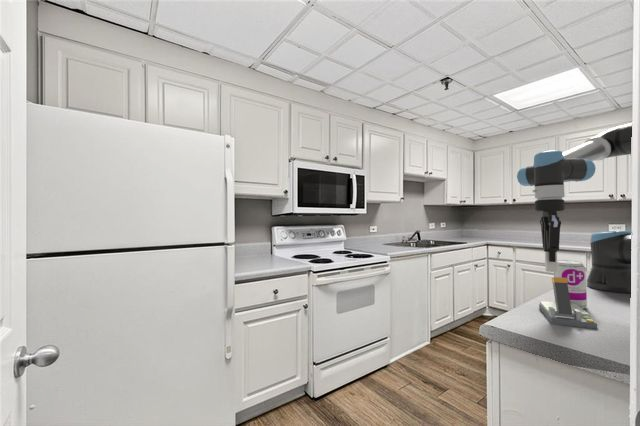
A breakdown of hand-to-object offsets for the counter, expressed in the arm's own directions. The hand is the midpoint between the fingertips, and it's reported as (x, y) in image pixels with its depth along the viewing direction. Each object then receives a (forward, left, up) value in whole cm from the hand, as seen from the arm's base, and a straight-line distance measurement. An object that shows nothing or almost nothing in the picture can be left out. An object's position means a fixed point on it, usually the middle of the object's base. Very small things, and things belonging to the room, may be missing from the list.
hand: (551, 271), depth 92 cm
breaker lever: (0, +10, -11) cm, 15 cm away
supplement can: (-7, -8, -13) cm, 17 cm away
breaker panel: (-2, +5, -13) cm, 14 cm away
